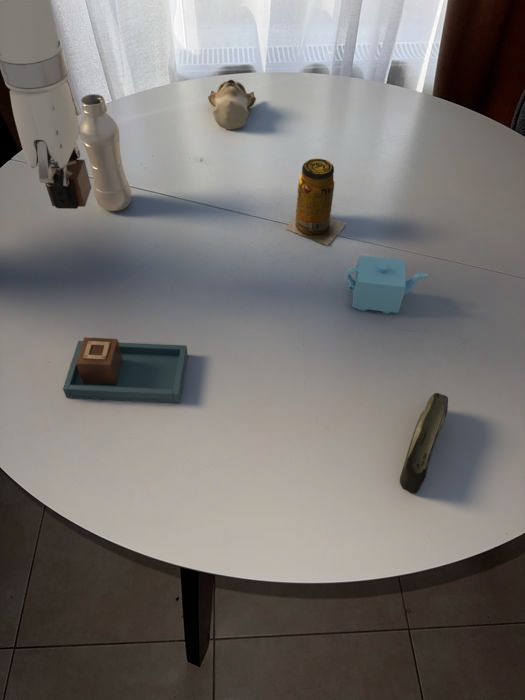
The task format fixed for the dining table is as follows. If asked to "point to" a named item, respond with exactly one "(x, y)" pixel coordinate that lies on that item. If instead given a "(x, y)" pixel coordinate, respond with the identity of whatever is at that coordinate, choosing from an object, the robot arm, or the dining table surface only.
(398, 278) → the teapot
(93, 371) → the tile
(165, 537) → the dining table surface
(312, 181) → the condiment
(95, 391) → the tray
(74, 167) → the tile
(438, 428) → the dark grey rounded bar
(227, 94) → the ceramic sculpture
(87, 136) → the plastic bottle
